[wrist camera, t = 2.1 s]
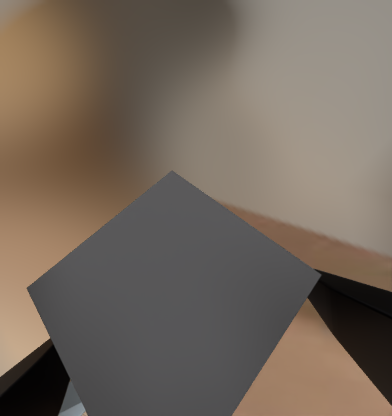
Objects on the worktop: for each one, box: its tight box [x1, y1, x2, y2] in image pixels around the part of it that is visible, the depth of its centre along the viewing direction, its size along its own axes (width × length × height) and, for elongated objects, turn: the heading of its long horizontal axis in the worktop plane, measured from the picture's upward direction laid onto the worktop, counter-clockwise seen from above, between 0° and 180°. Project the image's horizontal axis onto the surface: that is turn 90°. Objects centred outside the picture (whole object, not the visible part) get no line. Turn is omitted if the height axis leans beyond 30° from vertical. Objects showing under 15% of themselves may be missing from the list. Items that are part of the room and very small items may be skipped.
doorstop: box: [27, 171, 321, 416], centre depth 9 cm, size 4×4×12 cm
